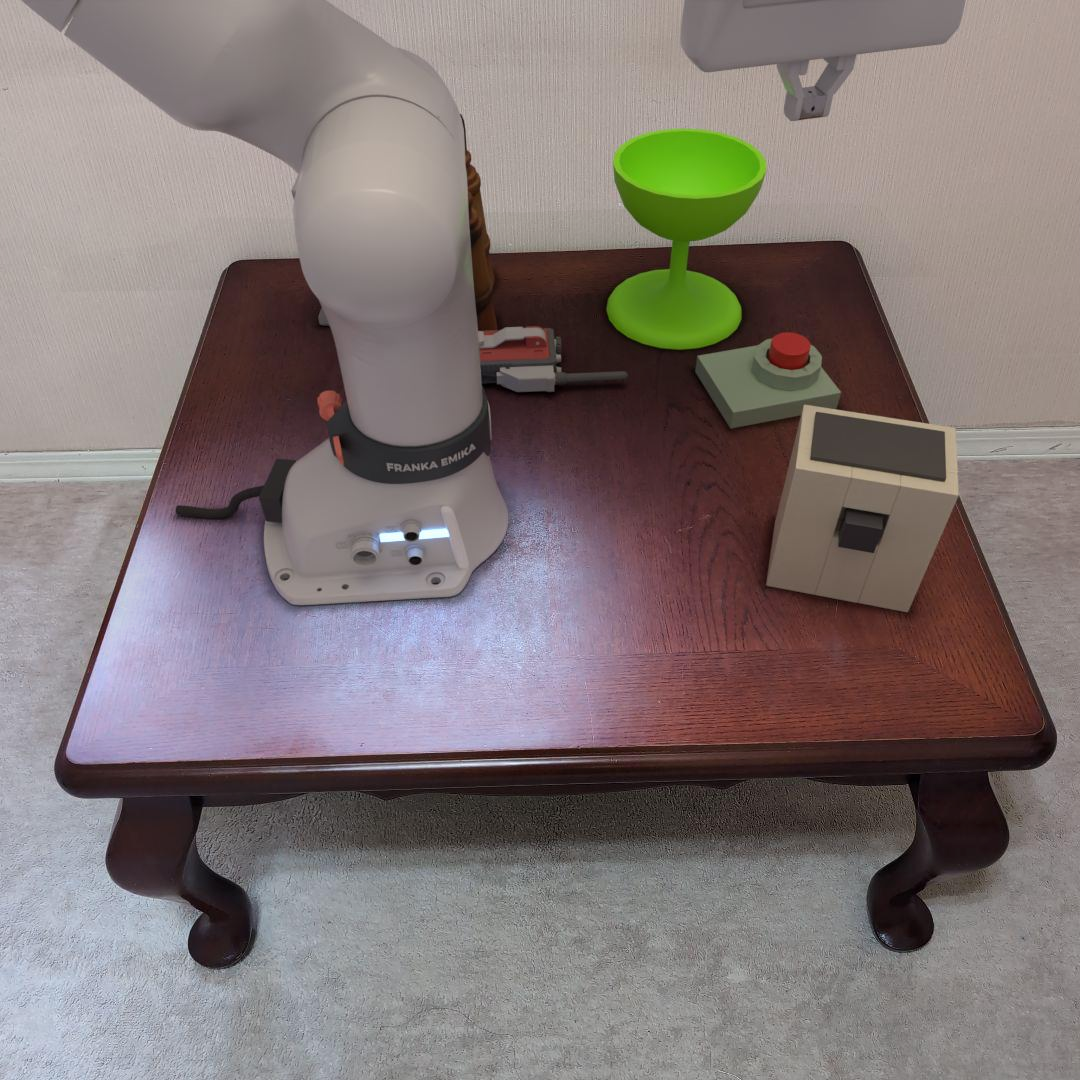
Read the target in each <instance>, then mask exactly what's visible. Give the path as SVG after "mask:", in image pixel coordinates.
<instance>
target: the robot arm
mask: <svg viewBox="0 0 1080 1080" xmlns="http://www.w3.org/2000/svg"><path fill="white" fill-rule="evenodd" d="M20 1H21V2H22V3H24V4H25V5H26V6H27V7H28V8H30V9H31V10H32V11H33V12H34V13H36V14H37V15H38V16H39V17H40V18H42V19H43V20H45V21H46V22H47V23H48V24H49V25H50V26H52V27H53V28H55V30H57V31H58V32H60V33H62V32H63V31H64V30H65V31H64V33H63V36H64V37H66V38H67V39H69V40H70V42H72V43H74V45H76V46H77V47H79V48H80V49H82V50H83V51H84V52H86V53H87V54H88V55H90V56H91V57H92V58H93V59H95V60H96V61H97V62H98V63H100V64H101V65H102V66H104V67H105V68H106V69H108V70H109V71H110V72H111V73H113V74H114V75H115V76H117V77H118V78H120V79H121V80H122V81H123V82H125V84H127V85H129V86H130V87H132V89H134V90H135V91H136V92H138V93H139V94H140V95H142V96H143V97H144V98H145V99H147V100H148V101H149V102H151V103H152V104H153V105H154V106H156V107H157V108H158V109H160V110H161V111H162V112H164V113H165V114H166V115H167V116H168V117H170V118H171V119H173V120H174V121H175V122H177V123H178V124H180V125H183V126H185V127H187V128H189V129H192V130H197V131H203V132H216V133H217V132H218V133H221V134H225V135H228V136H231V137H234V138H237V139H238V140H241V141H243V142H245V143H247V144H249V145H252V146H253V147H255V148H258V149H260V150H262V151H263V152H266V153H268V154H269V155H271V156H273V157H275V158H277V159H278V160H280V161H282V162H283V163H285V164H286V165H288V166H289V167H290V168H291V169H292V170H293V171H295V173H296V174H297V176H298V175H299V180H298V185H297V189H296V194H295V199H293V205H292V206H293V207H292V217H293V228H294V236H295V243H296V249H297V254H298V258H299V263H300V267H301V271H302V274H303V276H304V279H305V281H306V283H307V285H308V287H309V289H310V290H311V292H312V293H313V294H314V296H315V297H316V298H317V300H318V302H319V304H320V306H321V308H322V309H323V311H324V313H325V315H326V318H327V320H328V323H329V325H330V326H329V328H330V330H331V334H332V337H333V341H334V345H335V349H336V354H337V359H338V363H339V364H338V365H339V368H340V369H339V370H340V373H341V378H342V383H343V389H344V392H345V398H346V400H345V402H344V403H343V404H342V397H341V394H339V393H337V391H335V390H324V391H322V392H321V393H319V396H318V397H317V400H316V401H317V406H318V408H319V411H318V412H319V416H320V417H321V418H322V420H324V421H327V422H326V426H327V427H326V428H327V435H328V438H326V439H325V440H324V441H322V442H321V443H320V444H319V445H317V446H316V447H314V448H313V449H312V450H310V451H309V452H307V453H306V454H305V455H303V456H302V457H301V458H299V459H298V460H296V459H287V458H276V459H275V461H274V463H273V465H272V467H271V470H270V471H269V473H268V476H267V478H266V479H265V482H264V484H263V485H259V486H253V487H249V488H245V489H243V490H241V491H239V492H237V493H236V494H234V495H233V496H232V497H231V498H230V501H229V503H228V505H227V506H225V507H222V508H221V507H220V508H204V507H198V506H197V507H196V506H189V505H179V504H178V505H176V506H175V514H176V515H177V516H187V517H194V518H200V519H207V520H214V519H215V520H217V519H225V518H228V517H231V516H233V515H235V514H236V512H238V510H239V508H240V505H241V504H242V503H243V502H244V501H246V500H249V499H253V498H258V500H259V503H260V506H261V509H262V512H263V516H264V518H265V522H264V527H263V549H264V556H265V563H266V567H267V572H268V575H269V577H270V580H271V582H272V585H273V586H274V588H275V589H276V590H275V591H277V592H278V593H279V595H280V596H281V597H282V598H283V599H284V600H286V602H288V603H289V604H290V605H293V606H311V605H312V606H313V605H331V604H349V603H363V602H364V603H365V602H381V601H399V600H400V601H401V600H415V599H416V600H417V599H418V600H419V599H434V598H435V599H437V598H450V597H454V596H457V595H459V594H460V593H461V592H462V591H463V590H464V589H465V587H466V586H467V584H468V583H469V581H470V578H471V576H472V574H473V572H474V571H475V570H476V569H477V568H478V567H479V566H480V565H481V564H482V563H484V562H485V561H486V560H488V559H489V558H490V557H491V556H492V555H493V554H494V553H495V552H496V550H498V548H499V547H500V545H501V544H502V542H503V540H504V539H505V537H506V534H507V531H508V528H509V522H510V520H509V519H510V516H509V515H510V514H509V508H508V505H507V503H506V501H505V499H504V497H503V495H502V492H501V491H500V488H499V485H498V483H497V480H496V476H495V473H494V468H493V465H492V462H491V456H490V455H491V453H492V440H493V432H492V431H493V430H492V416H491V408H490V403H489V400H488V398H487V395H486V392H485V389H484V386H483V384H482V382H481V368H480V354H479V339H478V325H477V314H476V304H475V293H474V282H473V269H472V256H471V242H470V228H469V210H468V188H467V172H466V165H465V142H464V128H463V123H462V119H461V116H460V114H461V113H460V110H459V108H458V106H457V103H456V100H455V99H454V97H453V95H452V93H451V92H450V89H449V88H448V86H447V85H446V83H445V82H444V80H443V78H442V77H441V76H440V74H439V72H437V70H436V69H435V68H434V67H433V66H432V65H431V64H430V63H429V61H428V62H427V60H425V59H423V57H421V56H419V55H418V54H416V53H414V52H412V51H410V50H407V49H404V48H401V47H396V46H394V45H392V44H390V43H389V42H388V41H386V40H385V39H384V38H382V37H381V36H380V35H378V34H377V33H376V32H374V31H373V30H371V29H370V28H368V27H367V26H365V25H364V24H362V23H361V22H360V21H358V20H357V19H355V18H354V17H352V16H350V14H349V15H348V14H347V13H346V12H344V11H343V10H341V9H340V8H338V7H336V6H335V5H334V4H332V3H331V2H330V1H328V0H20ZM966 1H967V0H684V2H683V9H682V16H681V26H680V39H679V41H680V46H681V48H682V51H683V52H684V54H685V56H686V57H687V58H688V59H689V60H690V62H691V63H692V64H693V65H695V66H696V68H698V70H700V71H701V72H703V73H714V72H715V73H716V72H722V71H724V72H725V71H732V70H740V69H747V68H754V67H755V68H756V67H764V66H765V67H766V66H773V65H776V69H777V71H778V73H779V76H780V79H781V81H782V84H783V87H784V89H785V91H786V93H785V99H784V105H783V114H784V116H785V118H787V119H788V120H789V121H790V122H798V121H804V120H811V119H819V118H820V119H821V118H826V117H829V115H830V112H831V108H832V103H833V99H834V95H836V93H837V92H838V91H839V90H840V88H841V87H842V85H843V84H844V83H845V82H846V80H847V79H848V77H849V76H850V74H851V73H852V72H853V70H854V67H855V62H856V59H857V55H863V54H864V55H865V54H871V53H872V54H873V53H881V52H890V51H898V50H906V49H913V48H924V47H930V46H939V45H940V46H941V45H944V44H946V43H947V42H948V41H949V40H950V39H951V38H952V36H953V35H954V34H955V33H956V32H957V30H958V29H959V27H960V25H961V22H962V19H963V14H964V10H965V5H966ZM815 60H823V61H824V62H826V63H827V64H826V66H825V68H824V69H823V71H822V73H821V74H820V76H819V77H818V79H817V80H816V82H815V84H814V85H812V86H805V87H803V86H802V82H801V79H800V76H806V75H807V74H808V68H809V63H810V61H815Z"/></svg>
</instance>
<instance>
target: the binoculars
mask: <svg viewBox="0 0 1080 1080" xmlns="http://www.w3.org/2000/svg"><path fill="white" fill-rule="evenodd" d="M460 116H461V119H462V123H463V128H464V142H465V165H466V172H467V188H468V210H469V228H470V242H471V256H472V269H473V282H474V293H475V304H476V314H477V325H478V331H486V330H488V331H489V330H498V322H497V317H496V312H495V307H494V301H493V294H494V285H495V275H494V269H493V264H492V259H491V253H490V251H491V250H490V249H491V239H490V235H489V234H488V232H487V225H486V219H485V212H484V211H485V210H484V206H483V200H482V199H483V198H482V192H481V186H482V180H481V176H480V174H479V173H478V171H477V169H476V167H475V166H473V164H471V163H472V154H471V152H470V150H468V146H467V131H466V124H465V119H464V117H463V115H462V114H461V113H460Z"/></svg>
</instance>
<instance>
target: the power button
mask: <svg viewBox="0 0 1080 1080" xmlns="http://www.w3.org/2000/svg"><path fill="white" fill-rule="evenodd" d="M882 530H883V514H881V513H875V512H869V511H864V510H858V509H852V508H846V510H845V513H844V516H843V519H842V523H841V526H840V529H839V540H838V547H842V548H847V549H853V550H858V551H864V552H870V553H874V551H875V549H876V546H877V543H878V541H879V538H880V535H881V532H882Z"/></svg>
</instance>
